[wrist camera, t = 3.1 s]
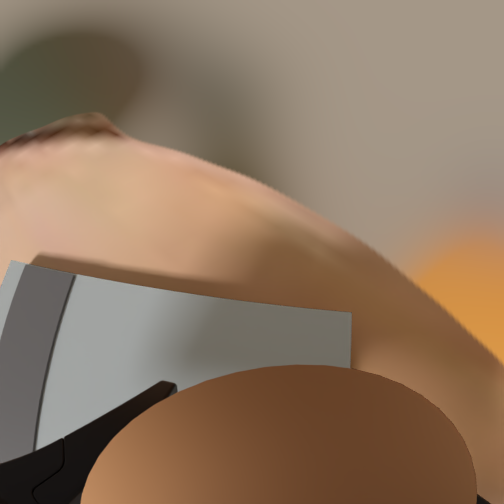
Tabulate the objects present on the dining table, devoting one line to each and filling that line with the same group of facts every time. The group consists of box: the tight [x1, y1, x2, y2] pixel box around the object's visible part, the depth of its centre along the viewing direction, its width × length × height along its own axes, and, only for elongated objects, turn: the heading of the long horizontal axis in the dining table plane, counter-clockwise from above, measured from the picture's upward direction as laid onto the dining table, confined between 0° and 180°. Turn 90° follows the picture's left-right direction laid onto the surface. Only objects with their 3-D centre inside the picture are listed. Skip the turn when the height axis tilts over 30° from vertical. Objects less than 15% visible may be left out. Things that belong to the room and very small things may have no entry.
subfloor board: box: [0, 260, 352, 451], centre depth 12 cm, size 20×14×2 cm
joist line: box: [0, 264, 75, 463], centre depth 12 cm, size 12×4×1 cm, turn 172°
